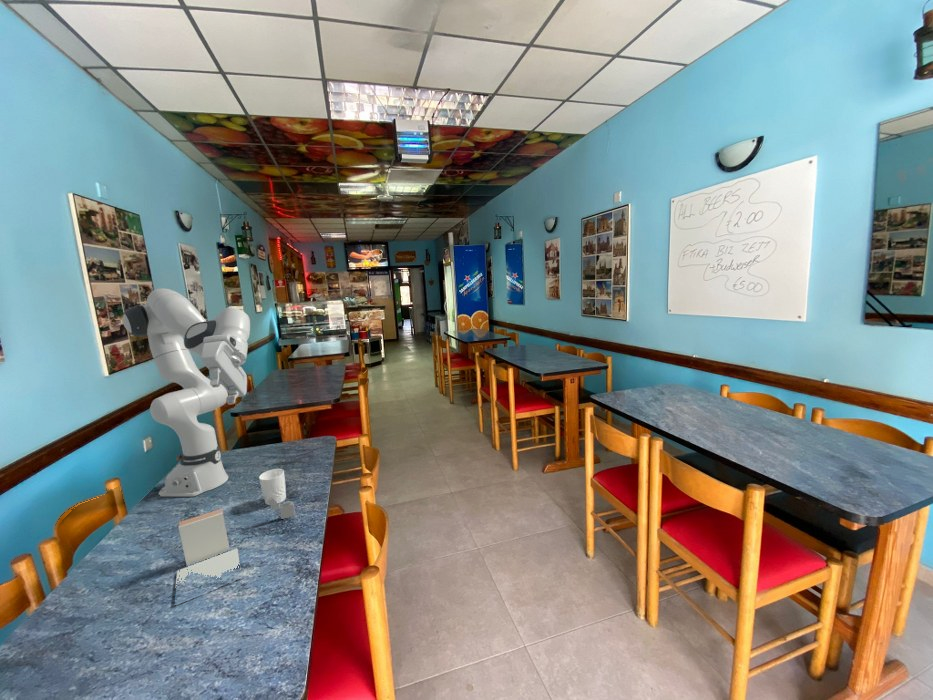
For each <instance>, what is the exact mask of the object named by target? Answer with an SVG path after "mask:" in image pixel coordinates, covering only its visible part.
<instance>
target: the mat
mask: <svg viewBox="0 0 933 700" xmlns="http://www.w3.org/2000/svg"><path fill="white" fill-rule="evenodd" d="M239 562H240V556H239V549H238V548H234V549H231V550H230V551H228V552H226V553H223V554H220V555H218V556H215V557H212V558H210V559H207V560H204V561H202V562H199V563H196V564H194V565H191V566H188V567H187V566H186V567H184V568H181V569H178V570H177V571H176V580H175V587H176V586H177V585H176V584H177V582H179V581H181V582H182V581H183V580H184V579H185V577H186V576H187V575H188V572H189V575H190V573H191V572H193V574H194V573H198V574H201V573H202V575H203V574H204V576H205V575H206V576H205V577H207V575H209V576H210V575H211V577H212V576H213V577H214V576H215V575H216V576H217V578H218V577H219V578H220V577H221V575H222V574H221V573H222V572H223V573H224V572H225V571H226V572H227V570H229V572H230V569H232V571H233V569H234V568H235V569H236V568H237V566H238V564H239V565H240V566H241V564H240V563H239ZM238 568H239V566H238ZM187 569H188V570H187ZM179 570H180V572H179ZM191 570H192V571H191ZM179 575H180V577H179ZM178 578H179V581H177V579H178ZM181 578H182V580H181ZM217 578H216V579H217ZM184 581H186V580H184ZM181 582H180V583H181ZM183 583H184V582H183Z"/></svg>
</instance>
